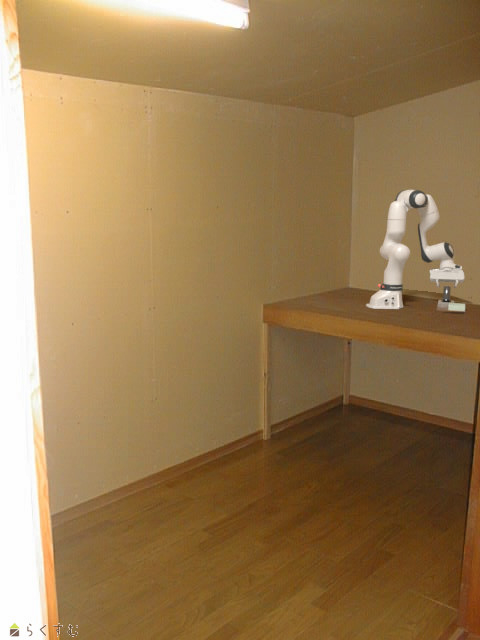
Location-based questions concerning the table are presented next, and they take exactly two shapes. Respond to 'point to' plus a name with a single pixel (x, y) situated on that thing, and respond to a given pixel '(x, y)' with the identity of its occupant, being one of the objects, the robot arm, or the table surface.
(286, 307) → the table surface
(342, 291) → the table surface
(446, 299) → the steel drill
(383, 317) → the table surface
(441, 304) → the socket
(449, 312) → the tool board
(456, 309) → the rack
